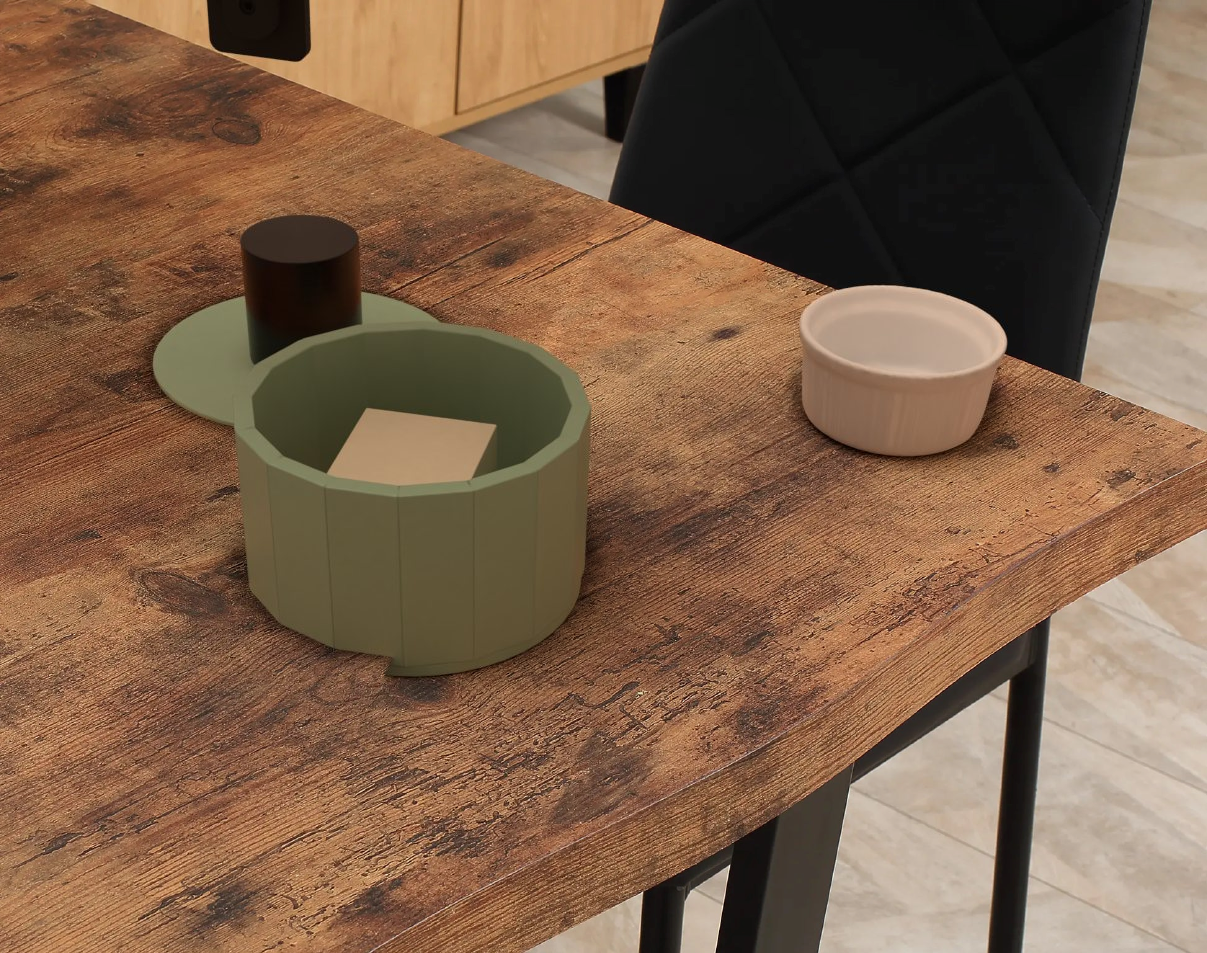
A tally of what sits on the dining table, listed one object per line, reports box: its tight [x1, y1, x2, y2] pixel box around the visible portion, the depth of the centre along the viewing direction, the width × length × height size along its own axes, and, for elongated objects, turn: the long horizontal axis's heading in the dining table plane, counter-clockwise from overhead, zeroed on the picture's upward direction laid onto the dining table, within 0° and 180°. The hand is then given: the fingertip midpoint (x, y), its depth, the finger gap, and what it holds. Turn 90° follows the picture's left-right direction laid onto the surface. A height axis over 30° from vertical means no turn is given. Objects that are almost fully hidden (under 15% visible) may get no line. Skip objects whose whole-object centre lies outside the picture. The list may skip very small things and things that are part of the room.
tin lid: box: [152, 214, 440, 428], centre depth 76 cm, size 13×13×7 cm
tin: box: [232, 321, 593, 678], centre depth 63 cm, size 12×12×8 cm
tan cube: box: [327, 408, 497, 486], centre depth 63 cm, size 5×5×5 cm
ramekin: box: [798, 284, 1008, 457], centre depth 75 cm, size 9×9×4 cm
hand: (310, 8), depth 59 cm, fingers open, 9 cm apart
